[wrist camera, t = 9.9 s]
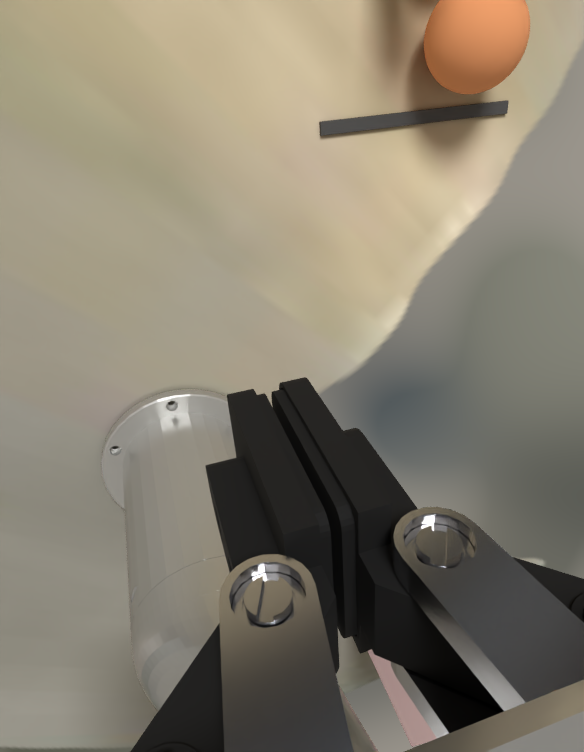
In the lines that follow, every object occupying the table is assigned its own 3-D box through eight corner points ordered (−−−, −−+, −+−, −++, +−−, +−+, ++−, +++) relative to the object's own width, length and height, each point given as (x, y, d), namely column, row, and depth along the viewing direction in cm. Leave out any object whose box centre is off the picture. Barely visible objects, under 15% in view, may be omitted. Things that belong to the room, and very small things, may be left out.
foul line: (505, 113, 38) (507, 113, 38) (320, 135, 35) (321, 135, 35) (506, 100, 38) (508, 100, 37) (319, 121, 35) (320, 121, 34)
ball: (526, -39, 32) (448, 39, 37) (468, -66, 28) (390, 25, 33) (565, 50, 31) (481, 118, 36) (511, 35, 28) (425, 112, 32)
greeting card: (440, 583, 63) (524, 709, 51) (398, 625, 65) (469, 757, 52) (379, 555, 57) (456, 689, 45) (334, 602, 59) (397, 744, 46)
